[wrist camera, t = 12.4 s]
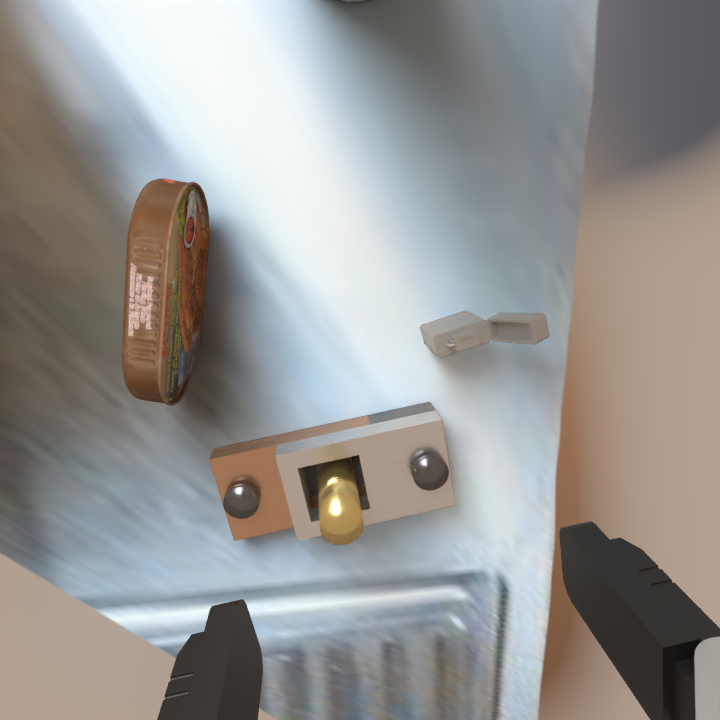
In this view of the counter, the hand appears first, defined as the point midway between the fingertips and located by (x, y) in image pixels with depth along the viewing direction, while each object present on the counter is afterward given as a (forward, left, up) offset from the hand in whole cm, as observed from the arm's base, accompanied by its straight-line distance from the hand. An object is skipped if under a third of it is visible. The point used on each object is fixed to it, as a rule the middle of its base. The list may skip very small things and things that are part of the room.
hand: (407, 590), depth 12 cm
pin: (+10, -3, -28) cm, 30 cm away
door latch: (+10, -3, -28) cm, 30 cm away
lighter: (0, +10, -28) cm, 30 cm away
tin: (-7, -11, -28) cm, 31 cm away
